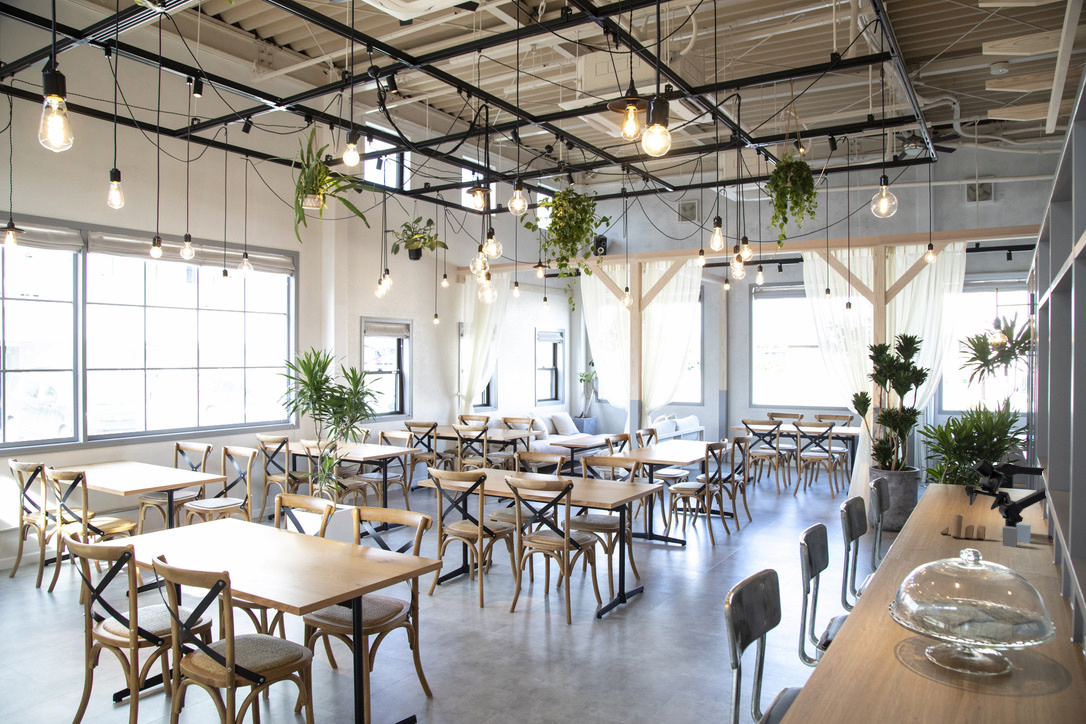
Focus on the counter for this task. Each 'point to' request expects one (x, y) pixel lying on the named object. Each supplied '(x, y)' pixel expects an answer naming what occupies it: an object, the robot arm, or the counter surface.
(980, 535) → the wooden block set
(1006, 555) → the counter surface
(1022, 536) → the slate blue block
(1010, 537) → the gray rectangular block
